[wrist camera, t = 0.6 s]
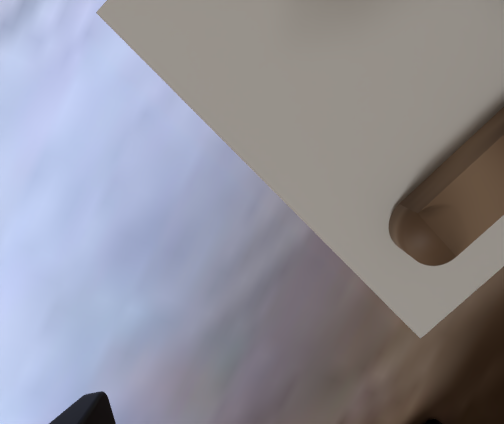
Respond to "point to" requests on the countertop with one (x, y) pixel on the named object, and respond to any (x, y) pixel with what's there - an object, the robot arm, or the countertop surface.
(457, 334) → the countertop surface
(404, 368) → the countertop surface
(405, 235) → the link
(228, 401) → the countertop surface
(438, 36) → the base board
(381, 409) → the countertop surface
